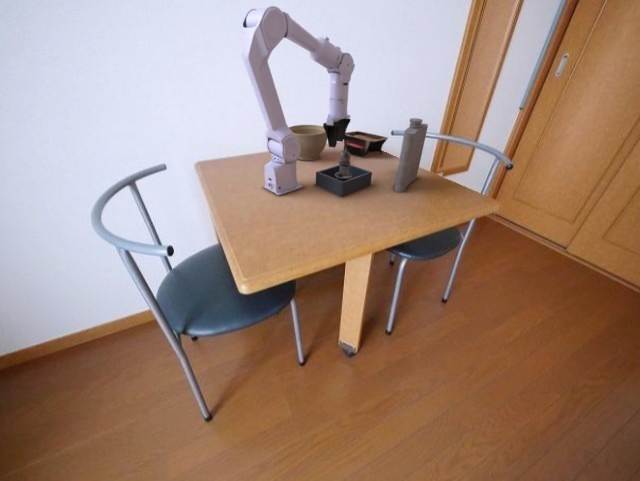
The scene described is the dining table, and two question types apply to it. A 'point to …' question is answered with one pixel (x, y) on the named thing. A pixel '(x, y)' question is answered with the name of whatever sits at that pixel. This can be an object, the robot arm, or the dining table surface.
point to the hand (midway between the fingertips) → (336, 143)
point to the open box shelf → (343, 188)
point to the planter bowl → (310, 140)
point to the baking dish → (363, 142)
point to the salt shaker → (344, 167)
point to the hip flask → (410, 153)
